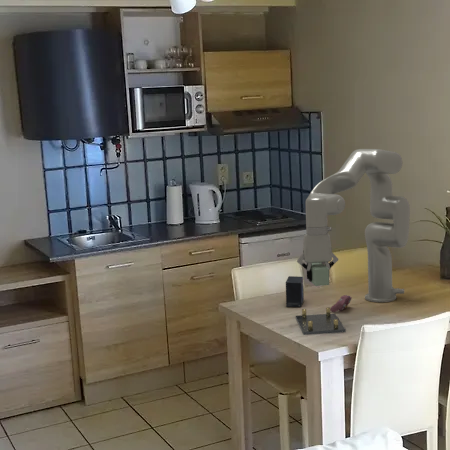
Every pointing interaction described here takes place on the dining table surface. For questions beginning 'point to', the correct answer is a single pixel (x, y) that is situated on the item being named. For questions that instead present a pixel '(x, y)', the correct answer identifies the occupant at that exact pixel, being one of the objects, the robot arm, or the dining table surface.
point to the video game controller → (341, 303)
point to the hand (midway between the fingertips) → (318, 279)
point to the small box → (294, 291)
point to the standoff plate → (319, 323)
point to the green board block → (319, 274)
